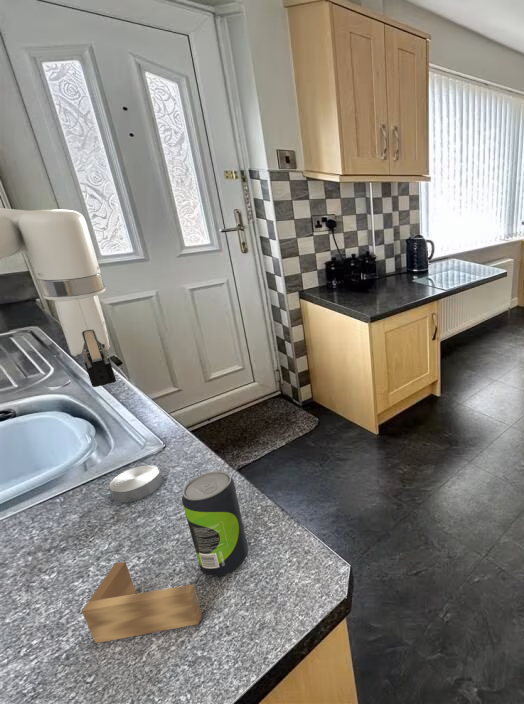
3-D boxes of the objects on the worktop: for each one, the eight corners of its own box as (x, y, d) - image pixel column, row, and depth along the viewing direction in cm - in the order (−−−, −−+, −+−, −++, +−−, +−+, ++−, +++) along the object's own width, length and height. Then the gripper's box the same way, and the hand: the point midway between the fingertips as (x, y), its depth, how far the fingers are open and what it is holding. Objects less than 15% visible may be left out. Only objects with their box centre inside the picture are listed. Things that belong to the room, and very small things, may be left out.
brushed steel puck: (103, 505, 74) (99, 494, 73) (126, 478, 81) (123, 467, 80) (150, 499, 76) (146, 488, 75) (169, 473, 82) (166, 463, 81)
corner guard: (95, 643, 54) (81, 610, 52) (126, 593, 60) (114, 562, 58) (198, 624, 56) (189, 592, 54) (218, 578, 63) (210, 548, 61)
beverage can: (256, 559, 66) (240, 482, 61) (210, 587, 61) (189, 507, 56) (239, 537, 69) (222, 463, 64) (194, 563, 65) (173, 485, 60)
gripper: (39, 279, 73) (71, 373, 79) (42, 300, 63) (78, 406, 70) (98, 273, 78) (124, 362, 85) (109, 292, 68) (137, 391, 75)
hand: (103, 381), depth 77 cm, fingers closed
